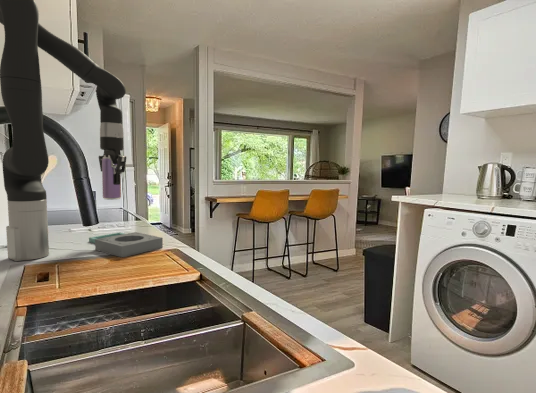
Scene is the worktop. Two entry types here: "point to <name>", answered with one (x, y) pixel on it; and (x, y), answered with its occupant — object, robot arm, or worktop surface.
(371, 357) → the worktop surface
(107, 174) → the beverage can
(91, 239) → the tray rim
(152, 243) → the socket block
